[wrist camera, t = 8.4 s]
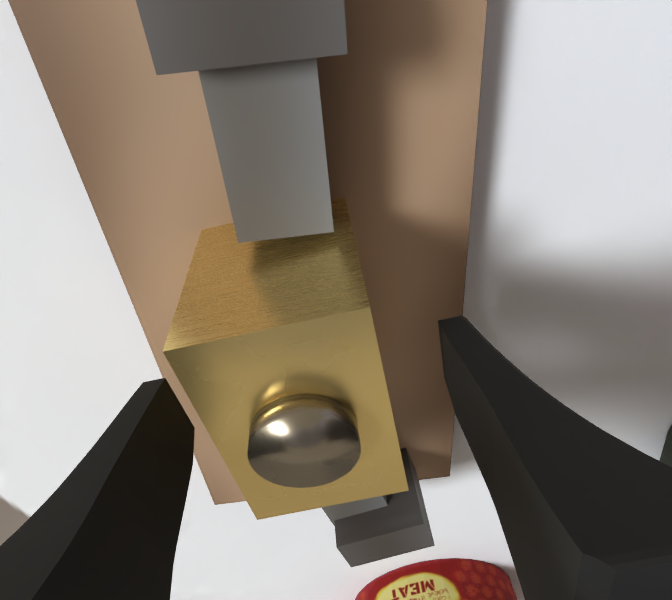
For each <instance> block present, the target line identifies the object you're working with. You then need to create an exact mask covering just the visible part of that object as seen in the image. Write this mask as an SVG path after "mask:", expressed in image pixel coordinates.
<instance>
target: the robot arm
mask: <svg viewBox="0 0 672 600" xmlns="http://www.w3.org/2000/svg"><path fill="white" fill-rule="evenodd" d="M438 326H439V335H440V344H441V353H442V362H443V371H444V378H445V382H446V385H447V388H448V392H449V395H450V398H451V401H452V405H453V408H454V411H455V414H456V416H457V418H458V421H459V423H460V425H461V428H462V430H463V432H464V435H465V437H466V439H467V441H468V444H469V446H470V448H471V451H472V453H473V455H474V457H475V460H476V462H477V464H478V466H479V469H480V471H481V473H482V476H483V478H484V480H485V482H486V485H487V487H488V489H489V492H490V494H491V497H492V500H493V502H494V505H495V507H496V510H497V513H498V517H499V520H500V523H501V526H502V529H503V532H504V535H505V538H506V541H507V544H508V547H509V550H510V553H511V556H512V559H513V562H514V566H515V569H516V572H517V575H518V578H519V581H520V584H521V588H522V591H523V594H524V597H525V600H672V467H670V466H668V465H666V464H664V463H662V462H660V461H658V460H656V459H654V458H652V457H650V456H648V455H646V454H644V453H643V452H641V451H639V450H637V449H635V448H634V447H632V446H630V445H628V444H626V443H625V442H623V441H621V440H619V439H617V438H616V437H614V436H612V435H610V434H609V433H607V432H605V431H603V430H602V429H600V428H599V427H597V426H595V425H594V424H592V423H591V422H589V421H587V420H586V419H584V418H583V417H581V416H580V415H578V414H577V413H575V412H574V411H572V410H571V409H569V408H568V407H566V406H565V405H564V404H562V403H561V402H559V401H558V400H557V399H555V398H554V397H553V396H551V395H550V394H548V393H547V392H546V391H545V390H543V389H542V388H541V387H539V386H538V385H537V384H536V383H534V382H533V381H532V380H531V379H529V378H528V377H527V376H526V375H525V374H523V373H522V372H521V371H520V370H519V369H518V368H516V367H515V366H514V365H513V364H512V363H511V362H510V361H509V360H507V359H506V358H505V357H504V356H503V355H502V354H501V353H500V352H499V351H498V350H496V349H495V348H494V347H493V346H492V345H491V344H490V343H489V342H488V341H487V340H486V339H485V338H484V337H483V336H482V335H481V334H480V333H479V332H478V331H477V329H476V328H475V327H474V326H473V325H472V324H471V323H470V322H469V321H468V320H467V318H465V317H464V316H457V317H452V318H447V319H443V320H438ZM194 434H195V427H194V426H193V424H192V422H191V421H190V419H189V417H188V416H187V414H186V412H185V410H184V409H183V407H182V405H181V404H180V402H179V400H178V398H177V397H176V395H175V393H174V392H173V390H172V388H171V387H170V385H169V383H168V381H167V380H166V378H162V379H157V380H153V381H148V382H143V383H142V385H141V386H140V387H139V388H138V389H137V391H136V392H135V393H134V394H133V396H132V397H131V398H130V400H129V401H128V402H127V403H126V405H125V406H124V407H123V409H122V410H121V411H120V413H119V414H118V415H117V417H116V418H115V419H114V420H113V422H112V423H111V424H110V426H109V427H108V428H107V429H106V431H105V432H104V433H103V435H102V436H101V437H100V438H99V440H98V441H97V442H96V444H95V445H94V446H93V447H92V449H91V450H90V451H89V452H88V453H87V455H86V456H85V457H84V458H83V459H82V461H81V462H80V463H79V464H78V465H77V466H76V468H75V469H74V470H73V471H72V472H71V474H70V475H69V476H68V477H67V478H66V480H65V481H64V482H63V483H62V484H61V485H60V486H59V488H58V489H57V490H56V491H55V492H54V493H53V494H52V495H51V496H50V497H49V499H48V500H47V501H46V502H45V503H44V504H43V505H42V506H41V507H40V508H39V509H38V510H37V511H36V512H35V513H34V514H33V515H32V516H31V517H30V518H29V519H28V520H27V521H26V522H25V523H24V524H23V525H22V526H21V527H20V528H19V529H18V530H17V531H16V532H15V533H14V534H13V535H12V536H11V537H10V538H8V539H7V540H6V542H4V543H3V544H2V545H1V546H0V600H170V592H171V582H172V572H173V563H174V557H175V551H176V545H177V540H178V536H179V531H180V526H181V521H182V516H183V511H184V506H185V501H186V496H187V491H188V486H189V481H190V476H191V470H192V465H193V453H194Z"/></svg>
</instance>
